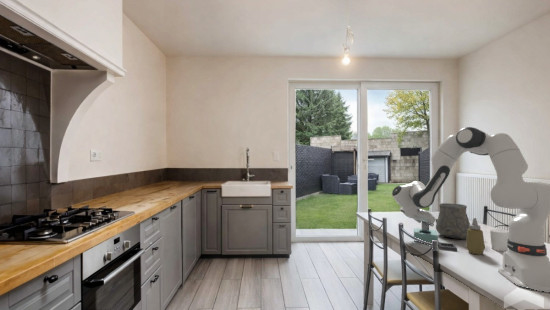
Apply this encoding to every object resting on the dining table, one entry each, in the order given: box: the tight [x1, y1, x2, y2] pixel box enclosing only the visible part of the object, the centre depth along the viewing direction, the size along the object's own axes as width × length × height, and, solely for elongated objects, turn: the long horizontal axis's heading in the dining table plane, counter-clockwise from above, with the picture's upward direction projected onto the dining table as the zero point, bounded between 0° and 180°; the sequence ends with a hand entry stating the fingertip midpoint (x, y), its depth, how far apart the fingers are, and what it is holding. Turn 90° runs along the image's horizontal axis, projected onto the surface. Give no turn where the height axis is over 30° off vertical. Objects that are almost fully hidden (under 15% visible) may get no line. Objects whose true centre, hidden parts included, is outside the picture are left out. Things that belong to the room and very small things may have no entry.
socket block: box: [413, 228, 439, 244], centre depth 167 cm, size 12×12×5 cm
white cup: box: [489, 228, 509, 253], centre depth 150 cm, size 8×8×10 cm
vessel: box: [435, 202, 471, 240], centre depth 174 cm, size 22×22×20 cm
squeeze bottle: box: [465, 217, 486, 256], centre depth 145 cm, size 8×8×18 cm
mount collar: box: [437, 241, 458, 252], centre depth 153 cm, size 8×8×2 cm
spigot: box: [421, 221, 430, 233], centre depth 167 cm, size 4×4×14 cm
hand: (426, 223), depth 168 cm, fingers open, 8 cm apart
